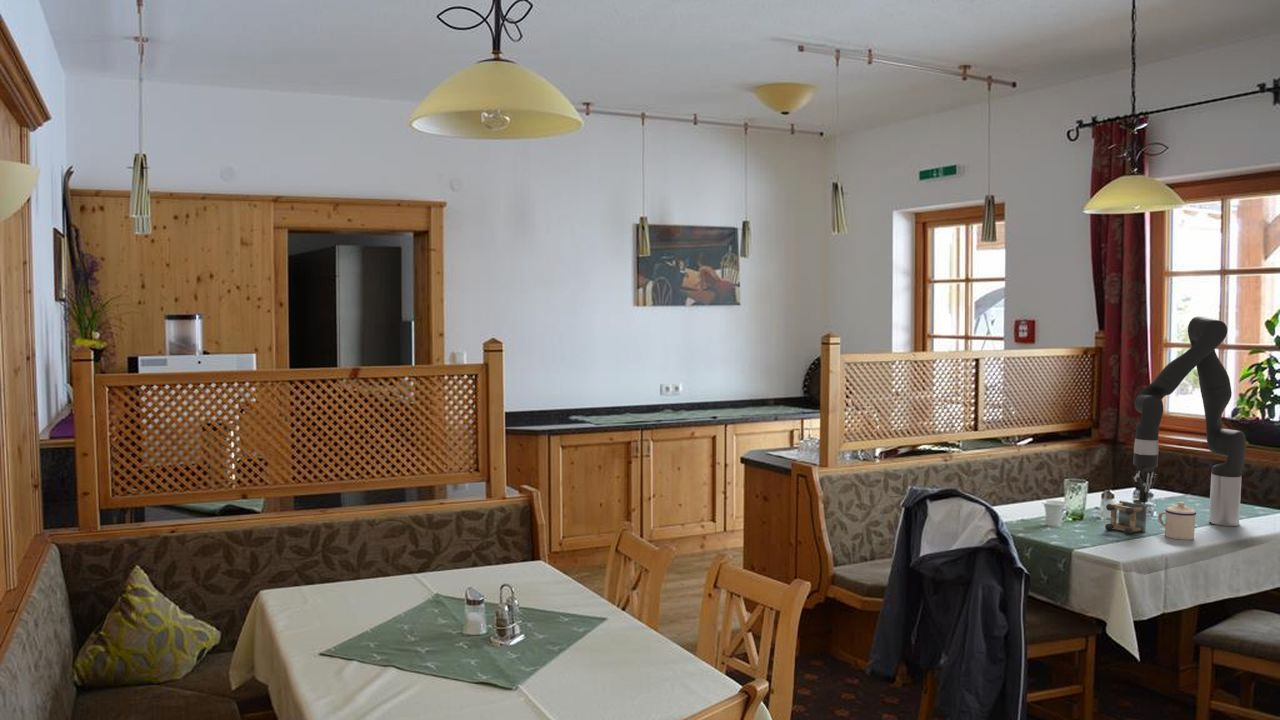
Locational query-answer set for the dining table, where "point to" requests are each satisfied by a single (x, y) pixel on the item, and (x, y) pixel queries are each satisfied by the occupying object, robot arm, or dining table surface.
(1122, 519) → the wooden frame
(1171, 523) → the teacup with lid
